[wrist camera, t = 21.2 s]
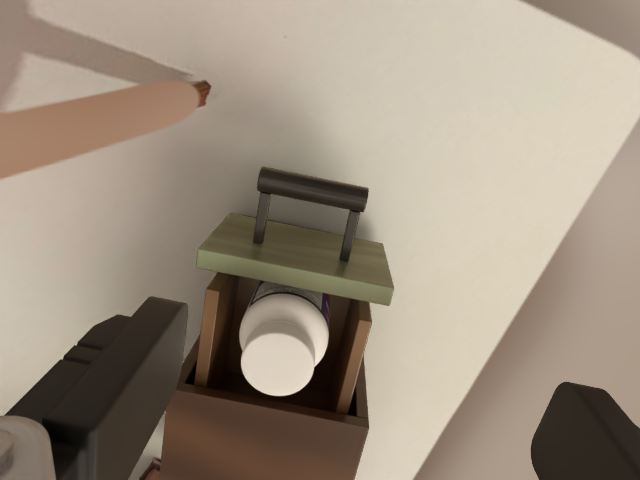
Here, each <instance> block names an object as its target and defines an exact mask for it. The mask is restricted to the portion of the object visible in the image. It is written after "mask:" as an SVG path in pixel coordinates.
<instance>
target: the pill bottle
mask: <svg viewBox="0 0 640 480" xmlns="http://www.w3.org/2000/svg"><path fill="white" fill-rule="evenodd" d="M330 300H331V294H327V293H322V292H317V291H312V290H307V289H302V288H297V287H292V286H287V285H282V284H277V283H272V282H267V281H262V280H259V282H258V284H257V287H256V289H255V291H254V294H253V296H252V298H251V301H250V303H249V305H248V308H247V310H246V312H245V314H244V317H243V319H242V322H241V326H240V331H239V340H240V345H241V348H242V351H243V352H242V356H241V368H242V372H243V374H244V376H245V378H246V380H247V381H248V382H249V383H250V384H251V385H252V386H253V387H254V388H255V389H257V390H259V391H261V392H263V393H265V394H268V395H273V396H285V395H290V394H293V393H296V392H298V391H299V390H301V389H302V388H303V387H305V386H306V385H307V383H308V382H309V381H310V379H311V377H312V375H313V371H314V367H315V366H316V365H317V364H318V363H319V362H320V361H321V359H322V358H323V356H324V354H325V351H326V349H327V345H328V338H329V318H330Z"/></svg>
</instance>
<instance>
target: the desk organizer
mask: <svg viewBox="0 0 640 480" xmlns="http://www.w3.org/2000/svg"><path fill="white" fill-rule="evenodd" d="M160 466H161V462H160V461H158V460H157V459H155V458H153V461H152V463H151V464H150V465H149V467H148V468H147V469H146V471H145V472H144V473H143V475H142V476H141V477H140V479H139V480H159V475H160Z"/></svg>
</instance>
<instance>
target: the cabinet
mask: <svg viewBox="0 0 640 480" xmlns="http://www.w3.org/2000/svg"><path fill="white" fill-rule="evenodd" d="M200 335H201V334H200ZM200 335H199V337H198V339H197V340H196V342H195V344H194V346H193V347H192V349H191V351H190V353H189V354H188V356H187V358H186V359H185V361H184V363H183V365H182V368H181V373H180V377H179V380H178V384H177V387H176V389H175V392H174V394H173V396H172V398H171V400H170V402H169V404H168V406H167V407H166V417H165V426H164V436H163V446H162V456H161V466H160V475H159V480H354V479H355V476H356V472H357V469H358V465H359V462H360V458H361V455H362V451H363V448H364V444H365V441H366V437H367V434H368V430H369V420H368V406H367V393H366V380H365V367H364V355H363V358H362V362H361V366H360V370H359V373H358V377H357V381H356V385H355V389H354V392H353V396H352V400H351V404H350V408H349V411H348V415H344V414H339V413H334V412H329V411H324V410H318V409H313V408H308V407H303V406H298V405H293V404H288V403H283V402H277V401H272V400H267V399H262V398H257V397H252V396H247V395H242V394H236V393H231V392H226V391H221V390H216V389H211V388H206V387H201V386H195V385H194V383H195V375H196V367H197V359H198V351H199V343H200Z"/></svg>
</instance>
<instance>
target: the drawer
mask: <svg viewBox="0 0 640 480" xmlns="http://www.w3.org/2000/svg"><path fill="white" fill-rule="evenodd" d="M257 190H258V191H260V192H261V193H260V199H259V205H258V212H257V218H253V217H248V216H243V215H238V214H233V213H230V214H229V215H228V216H227V218H226V219H225V220H224V221H223V222H222V223H221V224H220V225H219V226H218V228H217V229H216V230H215V231H214V232H213V233H212V234H211V235H210V236H209V237H208V239H207V240H206V241H205V242H204V243H203V244H202V245H201V246H200V247H199V249H198V253H197V262H196V267H197V268H201V269H206V270H211V271H216V272H218V273H217V274H216V276H215V277H214V279H213V280H212V281H211V283H210V284H209V286H208V287H207V289H206V294H205V302H204V310H203V319H202V327H201V335H200V343H199V351H198V359H197V367H196V375H195V383H194V385H195V386H201V387H206V388H211V389H216V390H221V391H226V392H231V393H236V394H242V395H247V396H252V397H257V398H262V399H267V400H272V401H277V402H283V403H288V404H293V405H298V406H303V407H308V408H313V409H318V410H324V411H329V412H334V413H339V414H344V415H348V411H349V408H350V404H351V400H352V396H353V392H354V389H355V385H356V381H357V377H358V373H359V370H360V366H361V362H362V358H363V355H364V351H365V347H366V343H367V339H368V336H369V332H370V328H371V324H372V319H371V311H370V303H369V302H372V303H377V304H382V305H387V306H389V305H390V302H391V299H392V295H393V291H394V286H393V282H392V278H391V274H390V270H389V266H388V262H387V258H386V254H385V251H384V247H383V244H382V243H377V242H372V241H367V240H362V239H357V238H354V236H355V232H356V228H357V223H358V219H359V215H360V212H364V210H365V207H366V203H367V198H368V192H369V189H368V188H366V187H361V186H356V185H351V184H346V183H341V182H337V181H332V180H327V179H322V178H317V177H312V176H307V175H302V174H297V173H292V172H287V171H283V170H278V169H273V168H268V167H262V168H261V170H260V173H259V177H258V183H257ZM271 194H274V195H279V196H284V197H289V198H294V199H299V200H304V201H309V202H314V203H319V204H324V205H329V206H334V207H339V208H343V209H348V210H350V212H349V216H348V220H347V225H346V229H345V234H344V236H342V235H337V234H332V233H327V232H322V231H317V230H312V229H307V228H302V227H298V226H293V225H288V224H283V223H278V222H273V221H268V220H267V218H268V211H269V205H270V199H271ZM259 280H262V281H267V282H272V283H277V284H282V285H287V286H292V287H297V288H302V289H307V290H312V291H317V292H322V293H327V294H331V300H330V318H329V338H328V345H327V349H326V351H325V354H324V356H323V358H322V359H321V361H320V362H319V363H318V364H317V365H316V366H315V367H314V371H313V375H312V377H311V379H310V381H309V382H308V383H307V385H306V386H305V387H303V388H302V389H301V390H299V391H298V392H296V393H293V394H290V395H285V396H273V395H268V394H265V393H263V392H261V391H259V390H257V389H255V388H254V387H253V386H252V385H251V384H250V383H249V382H248V381H247V380H246V378H245V376H244V374H243V372H242V368H241V356H242V352H243V351H242V348H241V345H240V340H239V331H240V326H241V322H242V319H243V317H244V314H245V312H246V310H247V308H248V305H249V303H250V301H251V298H252V296H253V294H254V291H255V289H256V287H257V284H258V282H259Z"/></svg>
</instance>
